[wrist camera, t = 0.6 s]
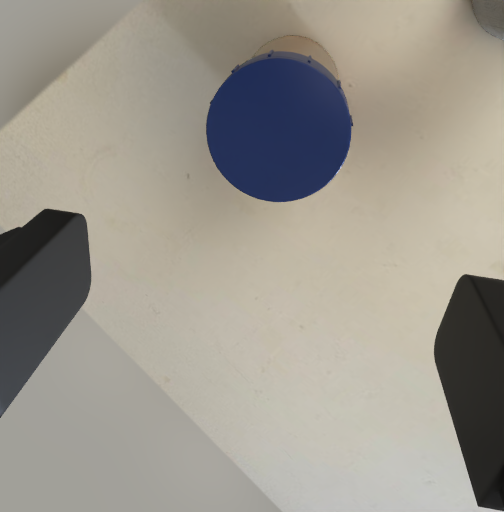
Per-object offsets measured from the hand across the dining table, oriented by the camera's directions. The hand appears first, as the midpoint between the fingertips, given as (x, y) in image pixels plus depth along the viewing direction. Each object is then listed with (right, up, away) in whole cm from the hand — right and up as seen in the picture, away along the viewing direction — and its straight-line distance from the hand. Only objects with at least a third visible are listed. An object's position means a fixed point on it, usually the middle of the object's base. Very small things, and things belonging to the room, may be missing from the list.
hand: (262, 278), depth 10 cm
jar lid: (+1, +5, +8) cm, 10 cm away
